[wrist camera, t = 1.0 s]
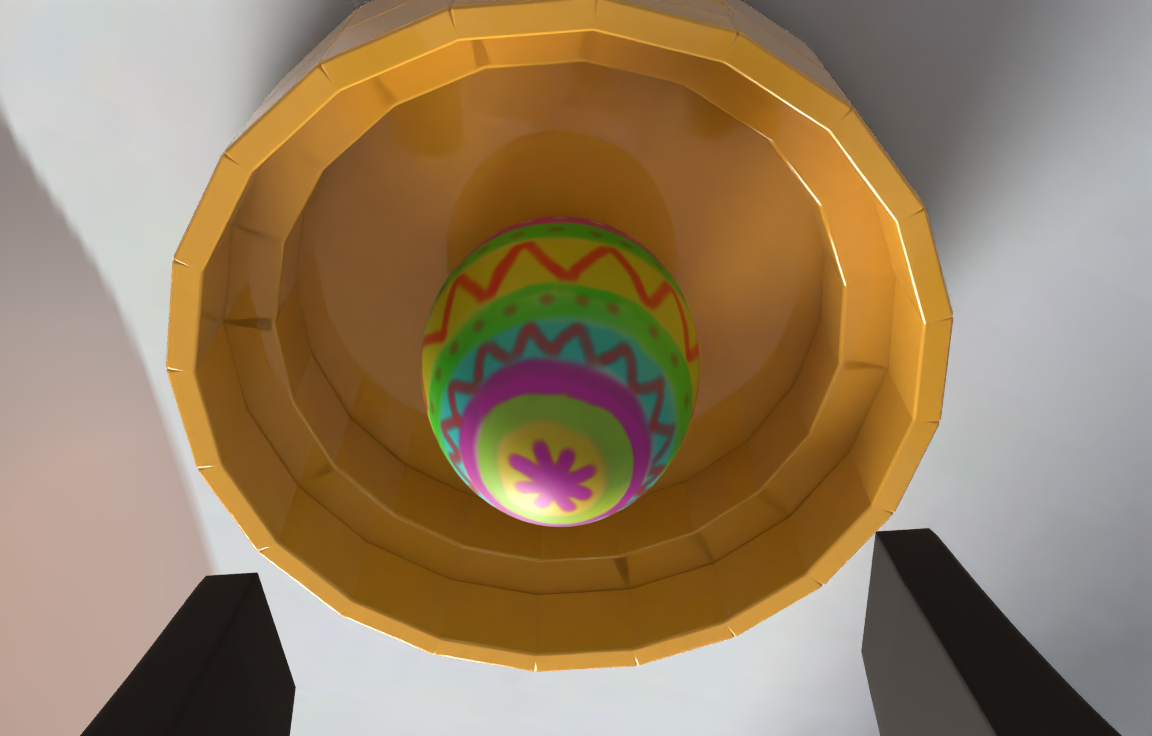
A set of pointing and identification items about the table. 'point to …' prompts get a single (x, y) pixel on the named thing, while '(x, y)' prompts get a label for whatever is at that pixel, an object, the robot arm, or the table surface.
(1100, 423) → the table surface
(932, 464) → the table surface
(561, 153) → the bowl
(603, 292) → the egg
